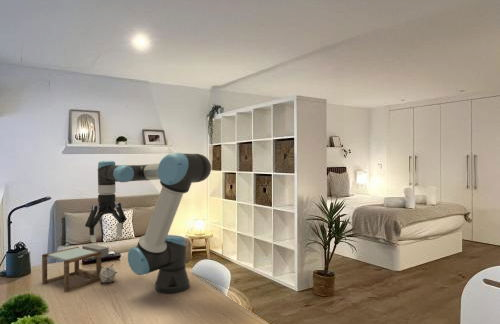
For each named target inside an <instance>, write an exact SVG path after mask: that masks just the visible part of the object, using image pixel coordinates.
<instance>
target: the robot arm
mask: <svg viewBox="0 0 500 324" xmlns="http://www.w3.org/2000/svg"><path fill="white" fill-rule="evenodd" d="M211 171H212V165H211V162H210V160H209V158H208V157H206V156H205V155H203V154H201V153H182V152H175V153H169V154H166V155H165V156H163V158H162V159H161V160H160V161H159V163H152V164H151V163H150V164H138V165H137V164H136V165H135V164H130V165H129V164H128V165H127V164H122V165H121V164H120V165H119V164H116V161H114V160H99V162H97V187H98V188H97V193H98V195H97V202H98V204H97V205H92V206H91V211H90V214H89V216H88V217H87V220H86V223H85V225H84V227H85V228H89V236H90V242H91V243H93V244H94V243H97V228H96V226H97V224H98V223H99V221H100V220H101V218H102V217H103V216H104V215H109V214H111V215H112V216H113V217H114V219H115V220H116V221H117V223H116V237H119V238H121V237H123V233H122V232H123V231H122V230H123V229H124V223H126V221H127V220H128V219H127V217H126V214H125V213H124V210H123V209H122V204H121V202H116V183H129V182H138V181H139V182H142V181H146V182H147V181H157V180H159V183H160V185H161V190H160V192H159V194H158V197H157V200H156V203H155V205H154V208H153V211H152V215H151V217H150V221H149V222H148V226H147V228H146V232H145V234H144V235H142V236H140V238H139V239H138V243H137V245H136V246H133V247H131V248H129V250H128V252H127V262H128V266H129V267H130V269H131V271H132V272H133V273H134V274H136V275H138V276H143V275H148V274H150V273H153V272H156V271H158V274H157V278H156V280H155V283H154V289H155V291H157V292H159V293H163V294H174V293H180V292H181V293H182V292H183V291H185V290H188V289H189V288H190V278H189V277H188V273H187V269H186V263H187V262H186V259H187V258H186V257H187V256H186V253H187V252H186V248H187V245H186V238H185V237H183V236H181V235H172V234H169V232H170V229H171V227H172V225H173V222H174V219H175V216H176V214H177V211H178V208H179V206H180V203H181V201H182V198H183V196H184V194H186V193H189V190H190V189H191V186H192V184H194V183H199V182H203V181H205V180H206V179H208V178H209V176H210V175H211V173H212V172H211ZM188 287H189V288H188Z"/></svg>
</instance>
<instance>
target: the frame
mask: <svg viewBox="0 0 500 324" xmlns="http://www.w3.org/2000/svg"><path fill="white" fill-rule="evenodd" d="M74 248H80V247H79V246H74V247H70V248H66V249H61V250H57V251H53V252H48V253H43V254H42V255H41V256H42V257H41V275H42V276H41V284H43V285H46V284H50V283H53V282H56V281H60V280H63V292H64V293H68V292H71V291H74V290H77V289H80V288H83V287H85V286H88V285H91V284H94V283H97V282H100V281H101V280H100V278H99V276H98V275H99V273H100V271H101V268H102V267H101V266H102V257H101V252H96V253H92V254H88V255H84V256H80V257H77V258H73V259H69V260H65V261H63V274H62V275H59V276H55V277H52V278H48V258H49V257H48V254H53V253H57V252H61V251H66V250H70V249H74ZM94 256H96V257H94ZM90 258H96V259H95V261H96V266H95V269H96V273H95V272H92V271H88V270H85V269H81V268H80V261H82V260H86V259H90ZM72 263H74V268H73V269H74V271H72V272H70V264H72ZM73 276H80V277H83V278H87V279H89V280H86V281H83V282H81V283H78V284H75V285H70V277H73ZM97 276H98V277H97Z"/></svg>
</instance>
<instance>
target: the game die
mask: <svg viewBox="0 0 500 324" xmlns="http://www.w3.org/2000/svg"><path fill="white" fill-rule="evenodd" d="M113 266H114V264H111V265H109V266H102V265H101V271H100V273H99V275H98V276H99V278H100V280H101V285H103V284H105V283H114V282H115V281H114V279H115V276H116V274H117V273H118V271H116V270H115V268H114V267H113ZM98 276H97V277H98Z"/></svg>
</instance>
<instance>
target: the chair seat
mask: <svg viewBox="0 0 500 324" xmlns="http://www.w3.org/2000/svg"><path fill="white" fill-rule="evenodd" d="M73 248H74V247H73ZM60 251H61V250H60ZM96 252H101V258H105V257H108V256H109V254H110V252H109V246H103V245H98V244H94V243H90V244H85V245H82V248H80V247H79V248H74V249H70V250H66V251H61V252H57V253H53V254H48V257H47V258H50V259H55V260H58V261H62V262H64V261H65V260H69V259H73V258H77V257H80V256H84V255H88V254H92V253H96ZM93 258H96V256H94V257H93Z"/></svg>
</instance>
